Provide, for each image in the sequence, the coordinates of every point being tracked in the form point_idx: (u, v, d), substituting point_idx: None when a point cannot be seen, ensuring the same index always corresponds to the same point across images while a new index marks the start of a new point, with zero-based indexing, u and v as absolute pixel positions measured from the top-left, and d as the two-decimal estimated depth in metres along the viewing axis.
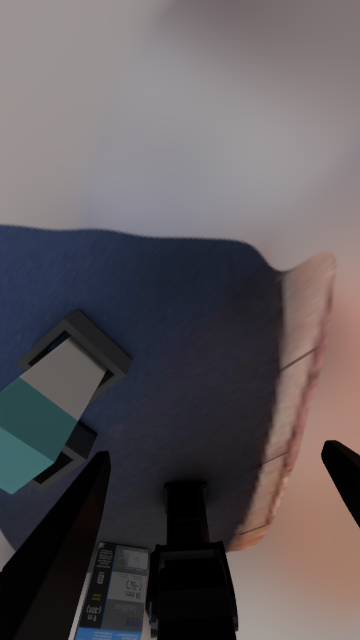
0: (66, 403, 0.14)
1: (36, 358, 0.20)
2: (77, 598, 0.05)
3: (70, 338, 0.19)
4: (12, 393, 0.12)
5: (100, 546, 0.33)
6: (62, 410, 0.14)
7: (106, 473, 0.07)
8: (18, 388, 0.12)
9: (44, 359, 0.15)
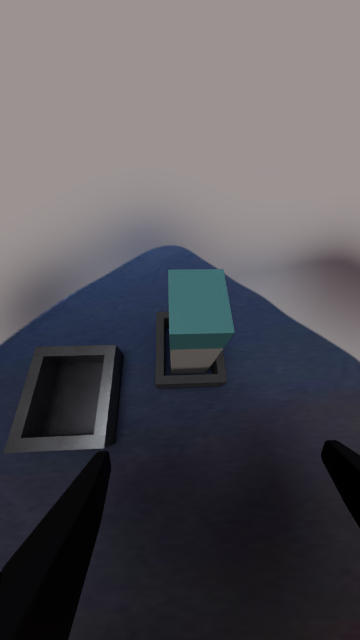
0: None
1: (164, 323, 0.23)
2: (77, 598, 0.05)
3: None
4: None
5: None
6: None
7: (106, 473, 0.07)
8: None
9: None
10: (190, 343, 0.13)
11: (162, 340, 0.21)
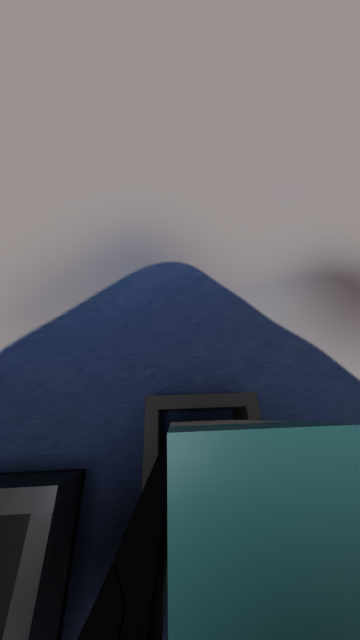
0: None
1: (159, 412, 0.13)
2: (165, 591, 0.05)
3: None
4: None
5: None
6: None
7: None
8: None
9: None
10: None
11: None
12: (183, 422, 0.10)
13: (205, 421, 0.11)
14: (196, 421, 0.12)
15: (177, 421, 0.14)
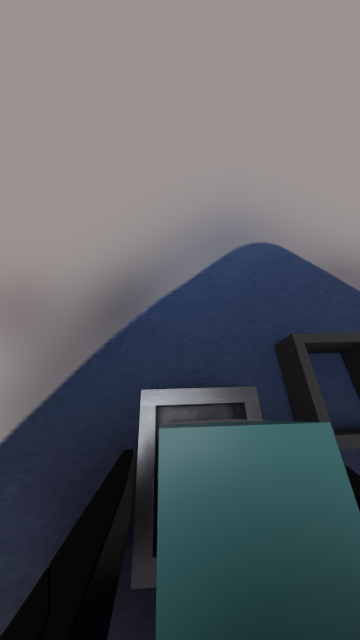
0: None
1: None
2: (114, 595, 0.05)
3: None
4: None
5: None
6: None
7: (133, 472, 0.07)
8: None
9: None
10: None
11: (314, 377, 0.15)
12: None
13: (201, 420, 0.12)
14: (193, 420, 0.12)
15: (176, 420, 0.15)
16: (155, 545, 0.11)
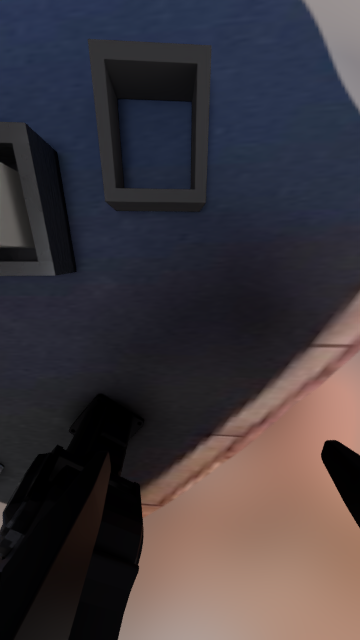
0: None
1: (110, 79, 0.13)
2: (77, 598, 0.05)
3: (7, 169, 0.13)
4: None
5: None
6: None
7: (106, 473, 0.07)
8: None
9: None
10: None
11: (107, 119, 0.12)
12: None
13: None
14: None
15: None
16: None
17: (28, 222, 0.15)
